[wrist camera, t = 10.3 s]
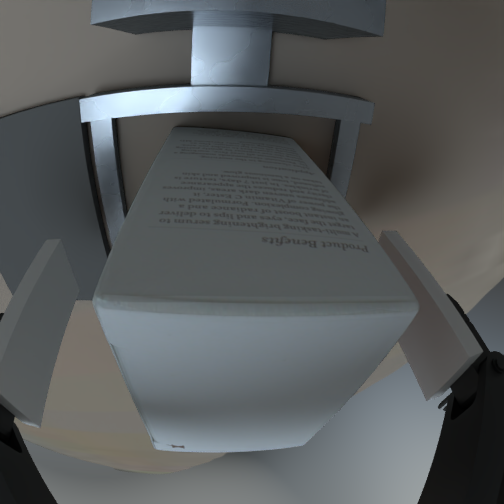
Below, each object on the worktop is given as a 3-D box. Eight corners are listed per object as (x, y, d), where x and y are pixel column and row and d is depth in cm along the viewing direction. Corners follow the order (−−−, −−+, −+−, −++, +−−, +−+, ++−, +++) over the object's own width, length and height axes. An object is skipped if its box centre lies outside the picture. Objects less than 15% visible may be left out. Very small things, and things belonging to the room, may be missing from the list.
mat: (83, 95, 10) (78, 97, 10) (122, 293, 17) (120, 300, 17) (-39, 133, 9) (-45, 136, 8) (16, 291, 16) (13, 296, 16)
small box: (265, 269, 17) (305, 448, 9) (168, 264, 16) (153, 453, 8) (295, 134, 13) (434, 307, 4) (171, 122, 12) (83, 306, 3)
